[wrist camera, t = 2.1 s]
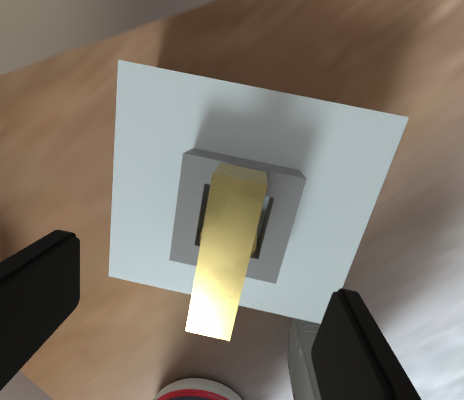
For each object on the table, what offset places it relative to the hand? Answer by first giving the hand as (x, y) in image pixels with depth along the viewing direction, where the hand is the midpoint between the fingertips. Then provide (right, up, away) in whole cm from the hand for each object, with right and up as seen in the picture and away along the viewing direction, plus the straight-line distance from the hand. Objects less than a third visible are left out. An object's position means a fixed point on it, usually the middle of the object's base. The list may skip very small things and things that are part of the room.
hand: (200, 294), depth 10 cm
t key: (+1, +3, +9) cm, 9 cm away
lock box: (+2, +5, +15) cm, 15 cm away
